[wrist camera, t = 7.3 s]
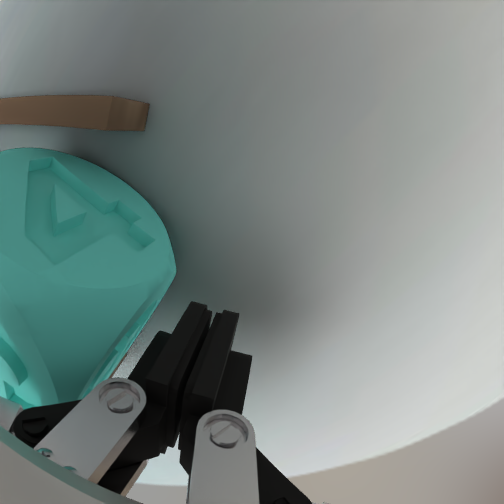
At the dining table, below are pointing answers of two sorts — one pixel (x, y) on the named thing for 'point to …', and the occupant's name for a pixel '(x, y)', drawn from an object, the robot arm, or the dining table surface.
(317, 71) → the dining table surface
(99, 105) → the corral
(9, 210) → the decorative dice
